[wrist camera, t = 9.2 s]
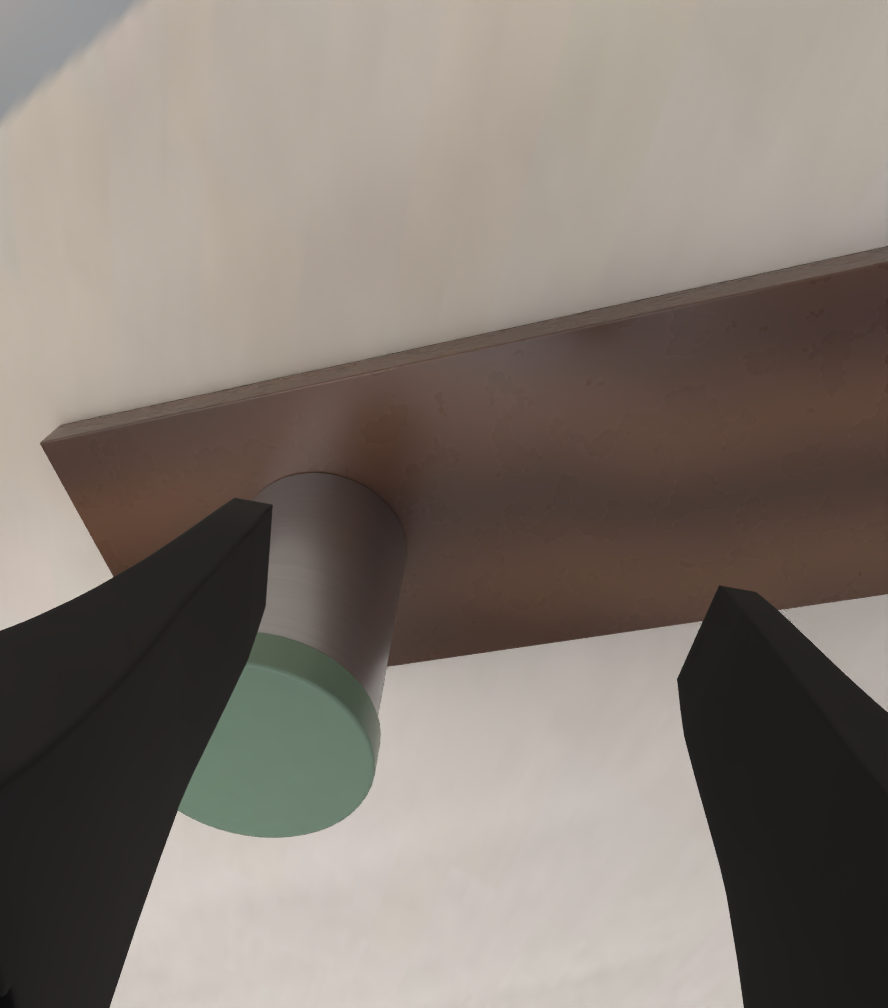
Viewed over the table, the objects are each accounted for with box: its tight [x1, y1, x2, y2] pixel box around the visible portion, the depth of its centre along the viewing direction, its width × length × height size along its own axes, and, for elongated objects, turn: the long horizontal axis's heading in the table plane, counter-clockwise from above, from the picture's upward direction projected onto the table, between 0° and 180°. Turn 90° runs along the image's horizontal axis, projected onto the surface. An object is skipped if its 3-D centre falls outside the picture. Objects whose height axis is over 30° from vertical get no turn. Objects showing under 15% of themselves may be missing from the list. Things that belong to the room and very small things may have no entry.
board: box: [40, 247, 888, 667], centre depth 23 cm, size 10×24×1 cm, turn 104°
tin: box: [178, 473, 407, 838], centre depth 20 cm, size 5×5×8 cm
